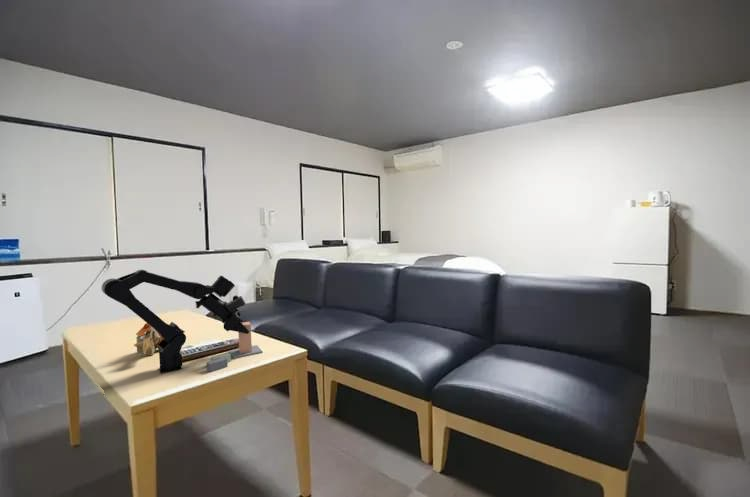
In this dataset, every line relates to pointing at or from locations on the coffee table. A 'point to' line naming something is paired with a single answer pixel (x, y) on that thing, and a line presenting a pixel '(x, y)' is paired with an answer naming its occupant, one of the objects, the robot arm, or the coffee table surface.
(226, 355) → the sage brick
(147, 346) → the toy house
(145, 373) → the coffee table surface
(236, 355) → the slate pad
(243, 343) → the terracotta block
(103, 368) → the coffee table surface
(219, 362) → the charcoal brick
